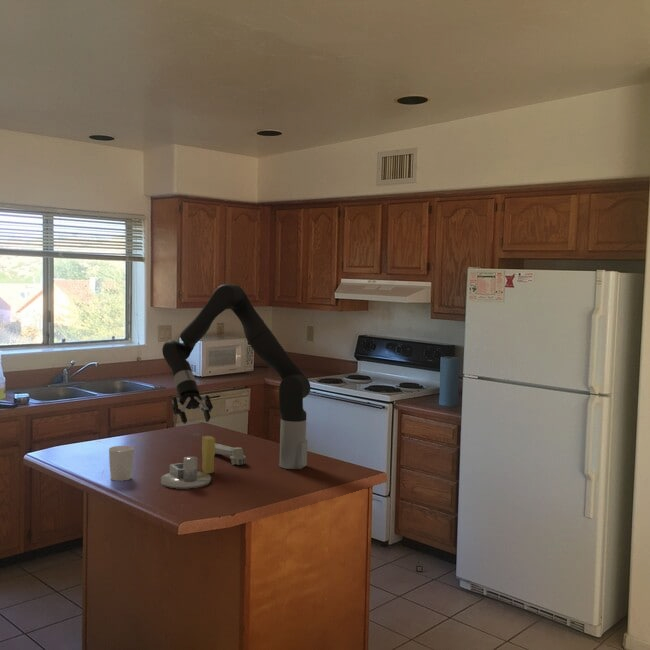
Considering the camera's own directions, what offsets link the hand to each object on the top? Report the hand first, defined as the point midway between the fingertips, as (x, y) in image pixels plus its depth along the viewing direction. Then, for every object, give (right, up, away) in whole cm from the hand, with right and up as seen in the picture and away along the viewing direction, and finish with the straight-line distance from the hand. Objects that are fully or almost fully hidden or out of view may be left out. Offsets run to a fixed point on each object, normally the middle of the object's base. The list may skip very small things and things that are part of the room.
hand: (196, 421), depth 250 cm
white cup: (-21, -16, -20) cm, 33 cm away
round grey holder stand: (0, -17, -21) cm, 27 cm away
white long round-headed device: (+8, -16, +11) cm, 21 cm away
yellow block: (+5, -16, -9) cm, 19 cm away
